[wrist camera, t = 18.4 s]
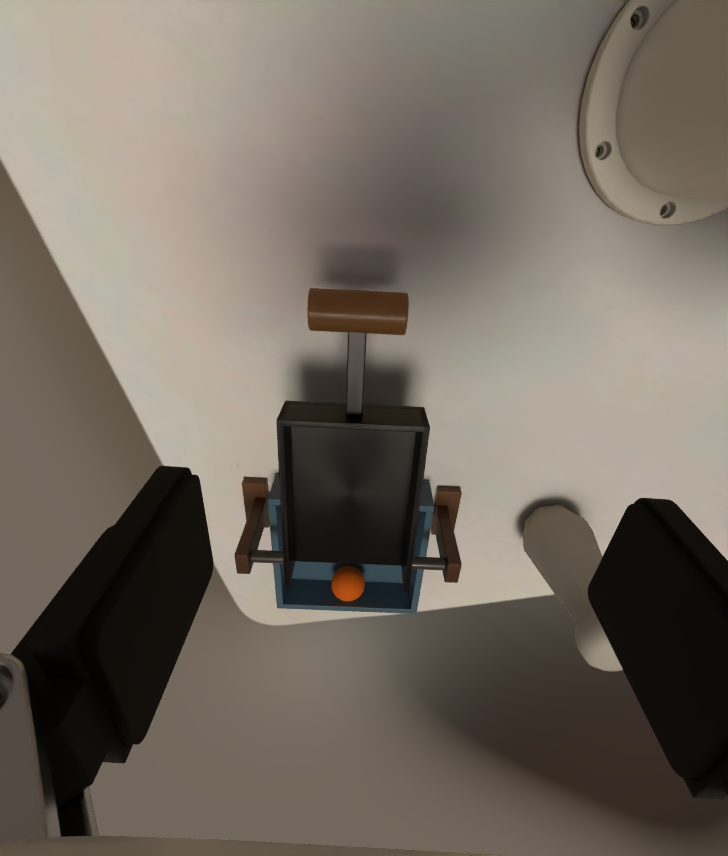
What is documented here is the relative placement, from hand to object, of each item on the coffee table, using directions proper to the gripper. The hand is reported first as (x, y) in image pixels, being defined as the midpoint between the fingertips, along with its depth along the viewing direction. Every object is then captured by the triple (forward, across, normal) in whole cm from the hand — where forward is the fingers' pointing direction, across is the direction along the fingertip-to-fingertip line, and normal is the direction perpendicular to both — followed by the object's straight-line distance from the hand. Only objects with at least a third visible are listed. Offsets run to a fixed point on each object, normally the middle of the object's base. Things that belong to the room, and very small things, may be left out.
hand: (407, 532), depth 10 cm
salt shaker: (+23, -16, +19) cm, 34 cm away
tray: (+22, +1, +22) cm, 32 cm away
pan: (+17, +2, +9) cm, 19 cm away
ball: (+20, +1, +27) cm, 33 cm away
